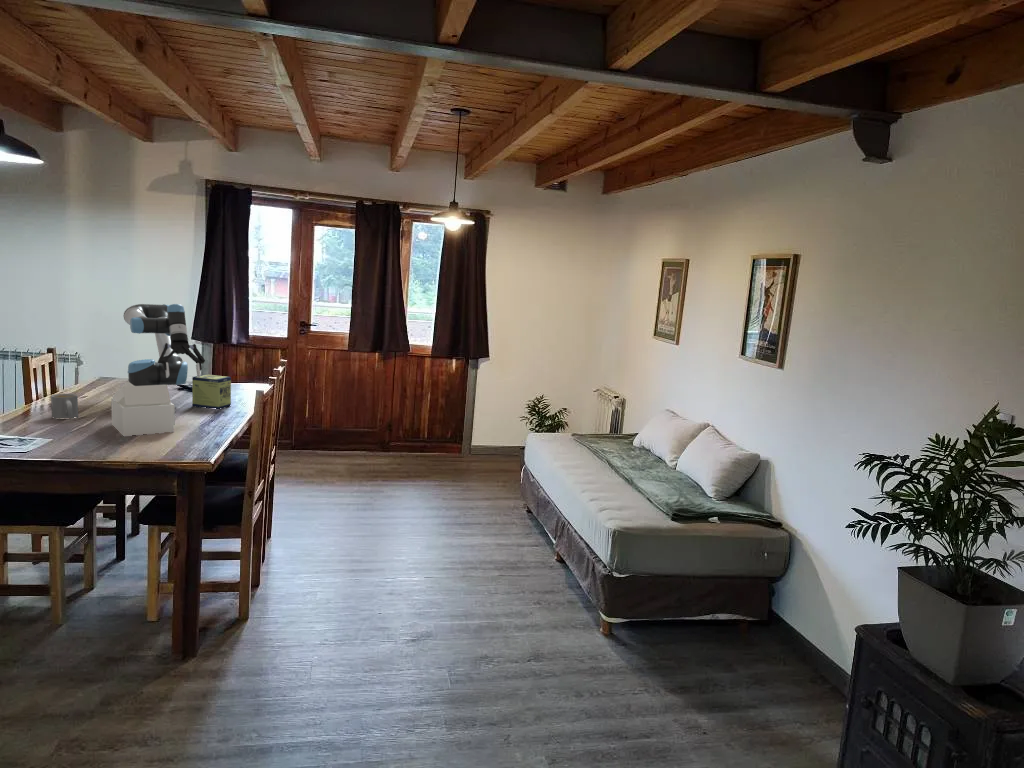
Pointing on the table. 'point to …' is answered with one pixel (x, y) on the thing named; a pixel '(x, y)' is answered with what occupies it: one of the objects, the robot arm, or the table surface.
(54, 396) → the coffee mug
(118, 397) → the side flap
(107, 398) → the table surface
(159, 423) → the carton
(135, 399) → the front flap
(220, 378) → the protein box
